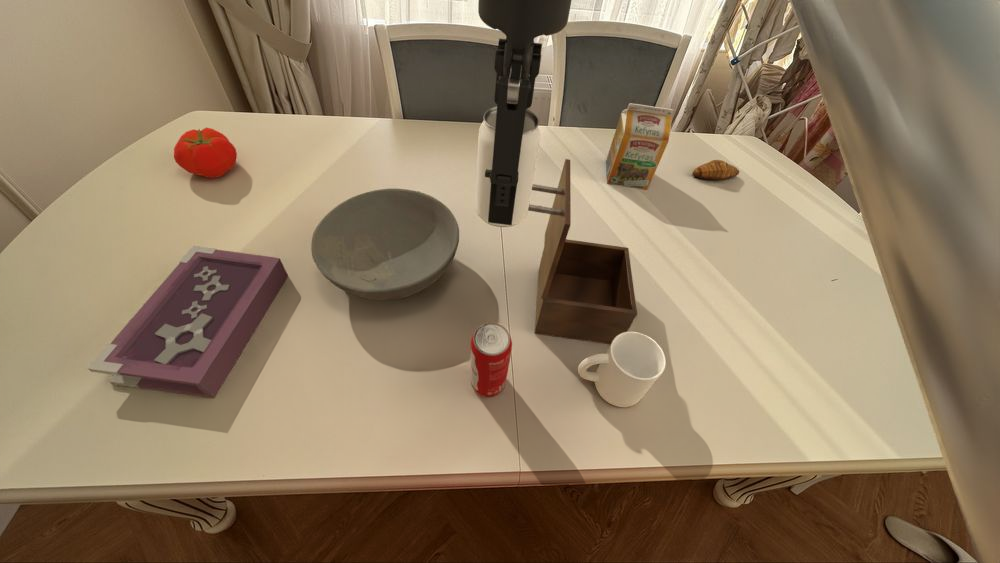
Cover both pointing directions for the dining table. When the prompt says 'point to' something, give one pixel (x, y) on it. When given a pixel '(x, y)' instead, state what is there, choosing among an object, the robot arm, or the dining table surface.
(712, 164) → the croissant
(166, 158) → the dining table surface
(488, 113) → the can
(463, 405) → the dining table surface
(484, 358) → the beverage can
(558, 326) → the bin
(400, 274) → the bowl
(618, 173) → the milk carton
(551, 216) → the bin lid
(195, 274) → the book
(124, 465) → the dining table surface
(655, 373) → the mug
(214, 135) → the tomato
